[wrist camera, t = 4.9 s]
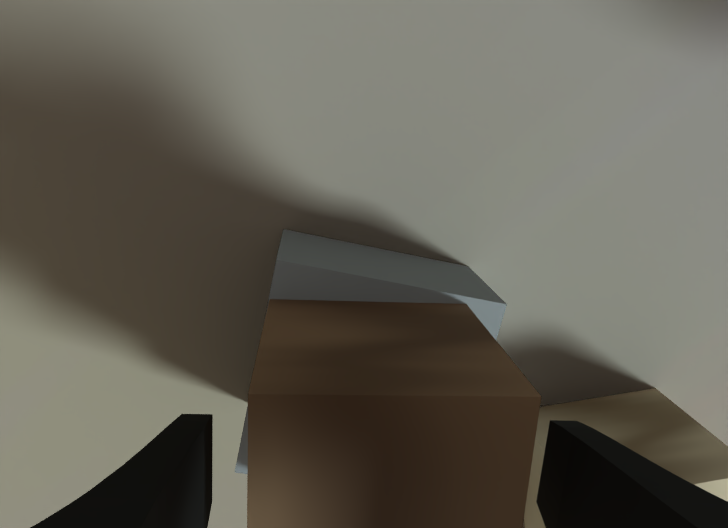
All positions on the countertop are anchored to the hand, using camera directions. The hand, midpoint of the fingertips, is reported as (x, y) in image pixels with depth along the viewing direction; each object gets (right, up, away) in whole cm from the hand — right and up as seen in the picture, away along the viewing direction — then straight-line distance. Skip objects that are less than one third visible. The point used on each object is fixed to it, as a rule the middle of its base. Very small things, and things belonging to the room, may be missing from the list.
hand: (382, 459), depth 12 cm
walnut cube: (0, +1, +3) cm, 3 cm away
